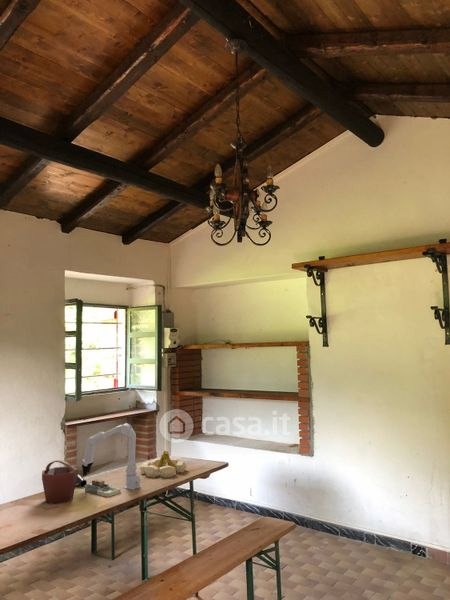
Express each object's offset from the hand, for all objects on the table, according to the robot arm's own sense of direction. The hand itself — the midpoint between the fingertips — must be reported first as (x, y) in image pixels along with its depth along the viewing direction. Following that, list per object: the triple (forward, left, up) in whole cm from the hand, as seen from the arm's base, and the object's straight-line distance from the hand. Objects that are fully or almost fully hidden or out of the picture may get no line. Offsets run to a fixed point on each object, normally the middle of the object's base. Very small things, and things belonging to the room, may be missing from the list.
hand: (86, 474), depth 328 cm
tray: (-22, -2, -11) cm, 24 cm away
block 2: (-13, -2, -8) cm, 15 cm away
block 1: (-8, -2, -8) cm, 11 cm away
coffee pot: (+12, +2, -11) cm, 16 cm away
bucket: (-4, +25, -11) cm, 27 cm away
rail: (-9, -2, -11) cm, 14 cm away
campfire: (-14, -62, -11) cm, 65 cm away
